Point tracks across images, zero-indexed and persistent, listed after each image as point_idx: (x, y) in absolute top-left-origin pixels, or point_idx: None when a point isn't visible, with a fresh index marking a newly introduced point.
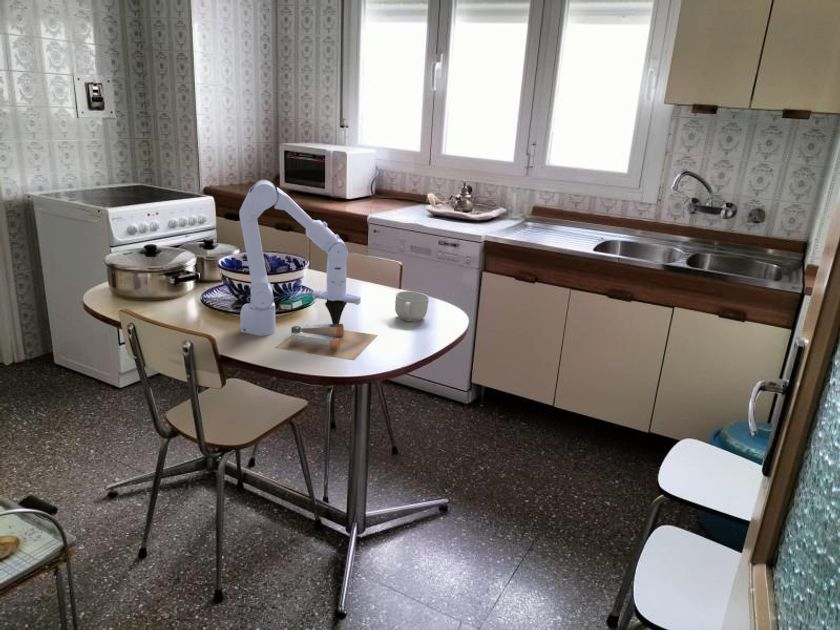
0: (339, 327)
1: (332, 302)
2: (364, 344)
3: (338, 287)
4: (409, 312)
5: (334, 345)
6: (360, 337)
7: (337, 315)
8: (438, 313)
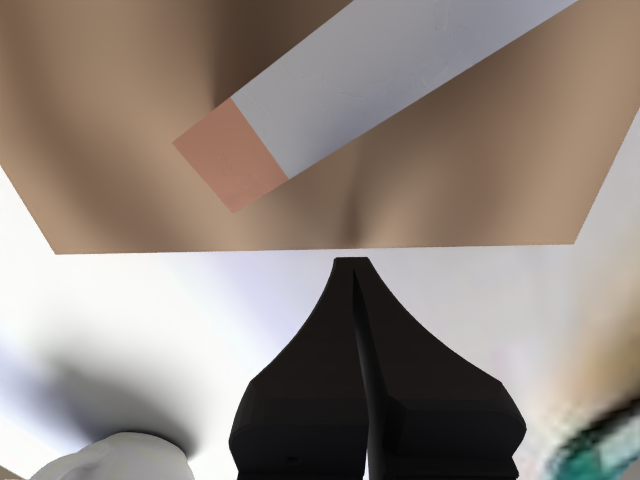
0: (208, 114)
1: (413, 463)
2: None
3: None
4: (80, 474)
5: None
6: (105, 169)
7: (319, 306)
8: None
